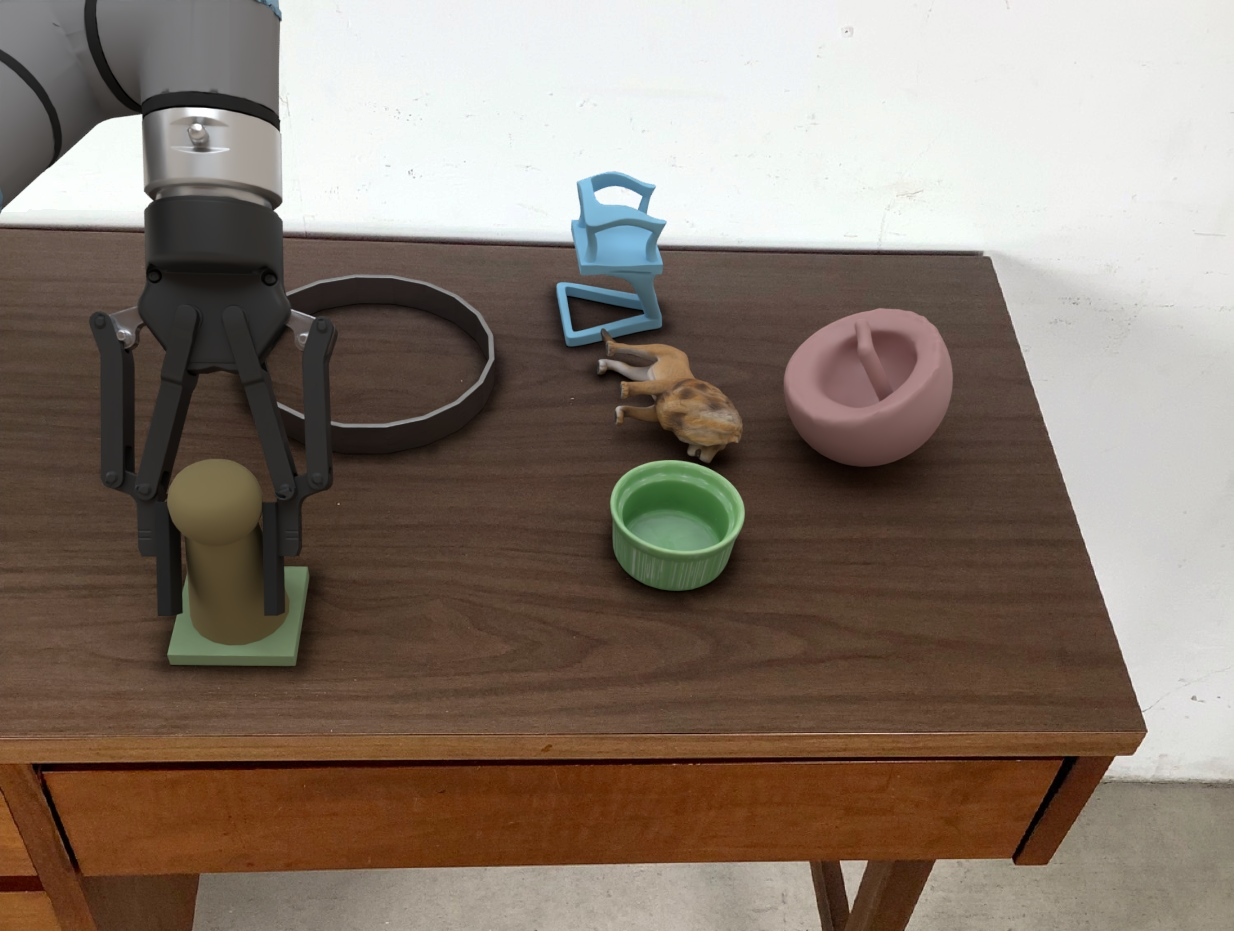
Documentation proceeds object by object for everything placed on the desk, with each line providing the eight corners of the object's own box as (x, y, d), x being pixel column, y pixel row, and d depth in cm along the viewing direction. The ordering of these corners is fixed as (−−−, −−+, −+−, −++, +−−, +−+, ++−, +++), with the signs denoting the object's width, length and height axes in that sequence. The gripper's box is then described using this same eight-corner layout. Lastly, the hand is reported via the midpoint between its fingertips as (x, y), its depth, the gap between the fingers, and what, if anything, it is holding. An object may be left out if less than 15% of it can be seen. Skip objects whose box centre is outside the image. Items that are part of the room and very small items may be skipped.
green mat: (170, 665, 74) (166, 654, 73) (191, 574, 79) (189, 564, 78) (295, 666, 75) (293, 656, 74) (309, 576, 80) (307, 566, 79)
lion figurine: (622, 474, 88) (741, 472, 90) (631, 415, 84) (755, 414, 86) (590, 356, 98) (698, 356, 100) (597, 298, 94) (709, 299, 96)
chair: (667, 345, 99) (685, 212, 90) (565, 347, 98) (573, 212, 89) (652, 290, 104) (667, 159, 95) (555, 291, 103) (562, 158, 94)
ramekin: (756, 583, 83) (767, 538, 79) (632, 611, 80) (638, 565, 77) (705, 495, 88) (713, 449, 85) (587, 518, 85) (591, 472, 82)
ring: (203, 423, 89) (196, 395, 87) (302, 282, 101) (299, 256, 99) (450, 476, 87) (450, 450, 85) (521, 327, 99) (522, 301, 97)
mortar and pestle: (758, 395, 96) (785, 269, 87) (905, 396, 97) (945, 272, 89) (786, 500, 88) (818, 373, 80) (944, 500, 90) (993, 375, 81)
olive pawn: (306, 621, 76) (284, 493, 68) (212, 659, 73) (178, 531, 65) (266, 560, 79) (240, 430, 71) (175, 595, 76) (137, 464, 68)
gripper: (21, 183, 65) (35, 620, 66) (371, 194, 67) (376, 618, 68) (69, 219, 72) (81, 611, 74) (382, 228, 74) (386, 609, 76)
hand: (222, 613), depth 71 cm, fingers closed on olive pawn, 5 cm apart
